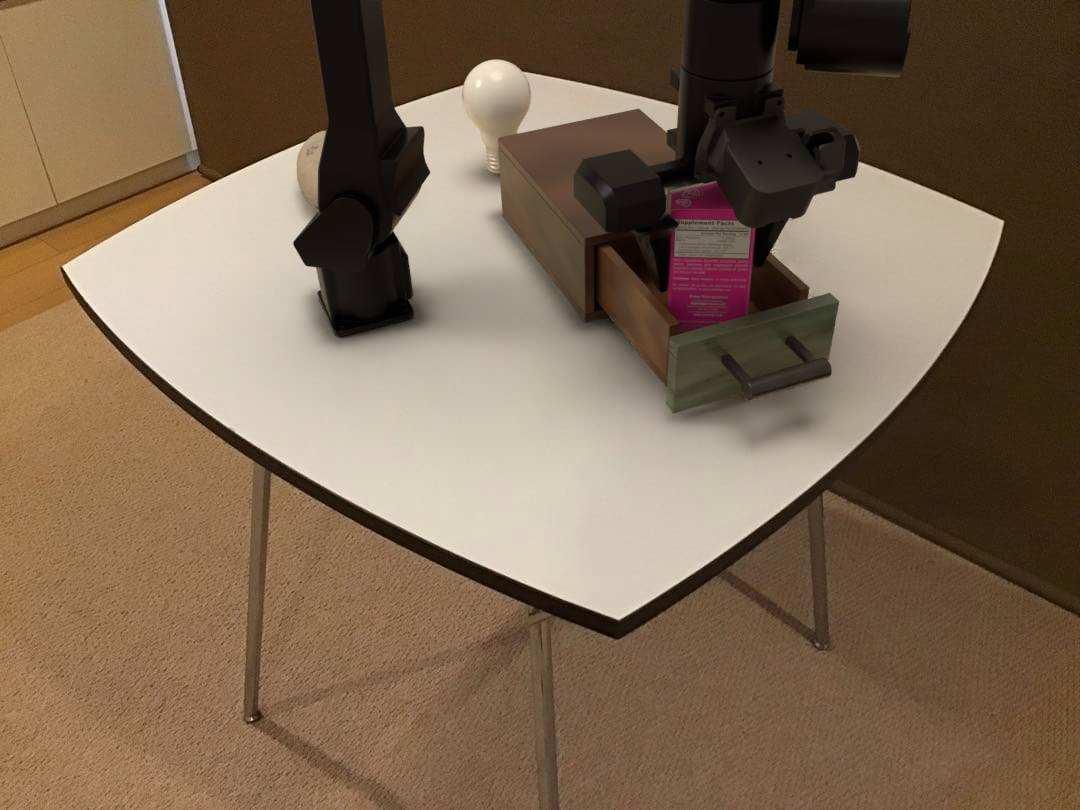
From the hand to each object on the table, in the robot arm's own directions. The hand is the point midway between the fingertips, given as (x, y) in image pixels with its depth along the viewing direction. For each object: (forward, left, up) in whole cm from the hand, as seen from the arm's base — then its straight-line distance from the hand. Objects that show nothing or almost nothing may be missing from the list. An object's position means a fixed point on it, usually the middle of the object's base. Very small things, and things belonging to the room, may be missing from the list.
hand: (708, 277), depth 74 cm
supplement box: (0, 0, -4) cm, 5 cm away
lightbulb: (-4, +33, -6) cm, 34 cm away
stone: (-20, +36, -6) cm, 42 cm away
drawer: (0, 0, -5) cm, 5 cm away
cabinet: (0, +16, -6) cm, 17 cm away
